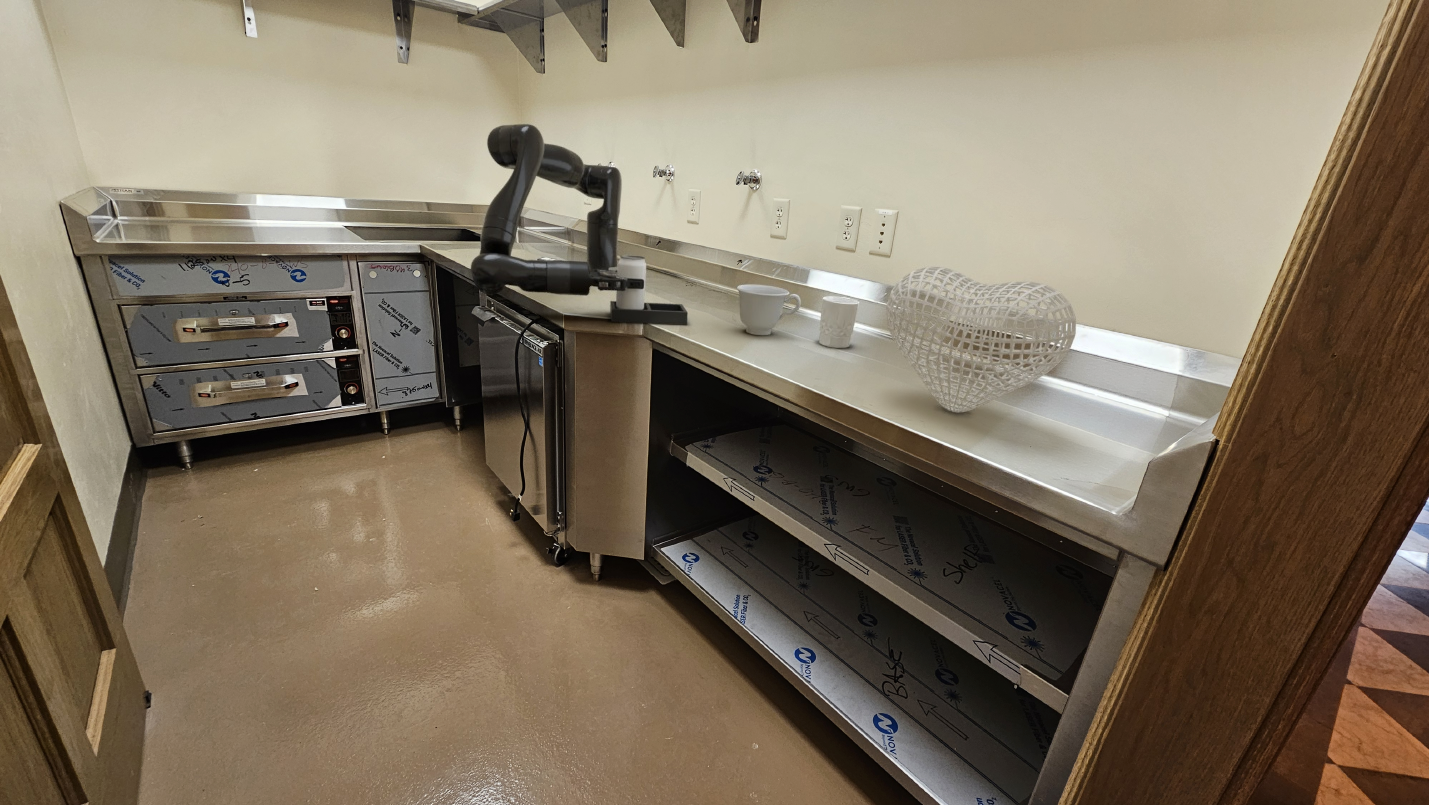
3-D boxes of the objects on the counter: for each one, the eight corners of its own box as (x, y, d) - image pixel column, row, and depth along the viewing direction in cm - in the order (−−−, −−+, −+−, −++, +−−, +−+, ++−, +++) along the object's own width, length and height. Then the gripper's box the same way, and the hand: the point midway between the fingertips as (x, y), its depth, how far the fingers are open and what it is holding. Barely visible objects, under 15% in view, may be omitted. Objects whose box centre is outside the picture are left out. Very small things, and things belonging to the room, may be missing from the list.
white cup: (858, 346, 136) (865, 301, 133) (839, 351, 130) (846, 304, 127) (828, 338, 141) (835, 295, 137) (809, 342, 135) (815, 298, 132)
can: (612, 305, 144) (614, 254, 140) (638, 305, 146) (641, 255, 142) (620, 311, 138) (622, 258, 134) (647, 311, 141) (650, 259, 137)
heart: (1058, 427, 96) (1100, 287, 88) (1026, 452, 85) (1071, 295, 78) (897, 380, 114) (920, 259, 106) (853, 395, 103) (876, 262, 95)
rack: (610, 313, 146) (610, 300, 145) (681, 316, 150) (682, 304, 149) (611, 322, 138) (611, 309, 137) (686, 324, 142) (687, 312, 141)
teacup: (790, 344, 133) (796, 298, 129) (725, 333, 137) (729, 289, 133) (801, 333, 144) (806, 290, 140) (740, 323, 148) (745, 282, 144)
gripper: (569, 265, 128) (647, 269, 133) (566, 256, 141) (637, 260, 146) (569, 300, 131) (645, 303, 136) (565, 288, 144) (635, 291, 149)
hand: (641, 281), depth 141 cm, fingers closed on can, 6 cm apart
